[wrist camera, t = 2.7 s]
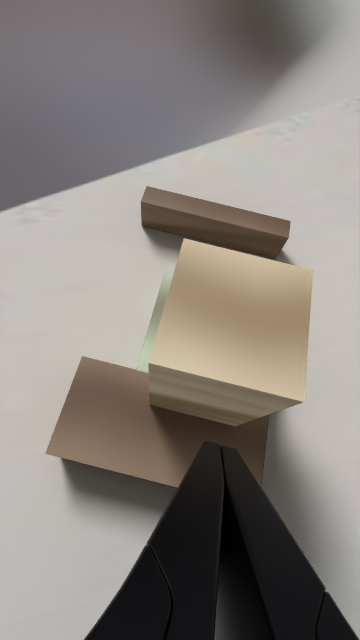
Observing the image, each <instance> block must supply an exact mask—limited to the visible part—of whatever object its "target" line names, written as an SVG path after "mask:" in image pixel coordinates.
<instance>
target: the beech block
mask: <svg viewBox="0 0 360 640" xmlns="http://www.w3.org/2000/svg"><path fill="white" fill-rule="evenodd" d="M312 276H313V270H311V269H307V268H303V267H299V266H295V265H291V264H286V263H282V262H278V261H274V260H270V259H266V258H262V257H258V256H254V255H250V254H246V253H242V252H238V251H234V250H230V249H225V248H221V247H217V246H213V245H209V244H205V243H201V242H197V241H193V240H189V239H185V238H184V239H183V243H182V246H181V250H180V253H179V257H178V260H177V264H176V267H175V271H174V274H173V278H172V281H171V285H170V288H169V292H168V295H167V299H166V302H165V306H164V309H163V313H162V316H161V320H160V324H159V327H158V331H157V334H156V338H155V341H154V345H153V348H152V352H151V355H150V359H149V362H148V370H149V405H153V406H157V407H161V408H165V409H169V410H173V411H177V412H181V413H185V414H189V415H192V416H196V417H200V418H204V419H208V420H212V421H216V422H220V423H224V424H228V425H232V426H237V425H240V424H243V423H246V422H249V421H252V420H254V419H257V418H260V417H263V416H266V415H269V414H271V413H274V412H277V411H280V410H283V409H286V408H288V407H291V406H294V405H297V404H300V403H303V402H304V397H305V382H306V367H307V351H308V336H309V321H310V306H311V291H312Z"/></svg>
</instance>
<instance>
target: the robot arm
mask: <svg viewBox="0 0 360 640" xmlns="http://www.w3.org/2000/svg"><path fill="white" fill-rule="evenodd" d="M325 590H326V589H325V586H324V585H323V583H322V581H321V580H320V578H319V577H318V575H317V574H316V572H315V570H314V569H313V567H312V566H311V564H310V563H309V561H308V559H307V558H306V556H305V555H304V553H303V552H302V550H301V548H300V547H299V545H298V544H297V542H296V541H295V539H294V537H293V536H292V534H291V533H290V531H289V530H288V528H287V526H286V525H285V523H284V522H283V520H282V519H281V517H280V515H279V514H278V512H277V511H276V509H275V508H274V506H273V504H272V503H271V501H270V500H269V498H268V497H267V495H266V493H265V492H264V490H263V489H262V487H261V486H260V484H259V482H258V481H257V479H256V478H255V476H254V475H253V473H252V471H251V470H250V468H249V467H248V465H247V464H246V462H245V460H244V459H243V457H242V456H241V454H240V453H239V451H238V450H237V449H236V448H235V447H231V446H227V445H223V444H222V445H219V444H218V443H216V442H212V441H208V440H205V441H203V443H202V445H201V446H200V448H199V450H198V452H197V454H196V455H195V457H194V459H193V461H192V463H191V464H190V466H189V468H188V470H187V472H186V473H185V475H184V477H183V479H182V481H181V482H180V484H179V486H178V488H177V490H176V491H175V493H174V495H173V497H172V499H171V500H170V502H169V504H168V506H167V508H166V509H165V511H164V513H163V515H162V517H161V518H160V520H159V522H158V524H157V526H156V527H155V529H154V531H153V533H152V535H151V536H150V538H149V540H148V542H147V545H146V546H145V547H144V549H143V550H142V552H141V554H140V556H139V558H138V559H137V561H136V563H135V565H134V566H133V568H132V570H131V571H130V573H129V575H128V576H127V578H126V580H125V581H124V583H123V585H122V586H121V588H120V589H119V591H118V592H117V594H116V595H115V597H114V598H113V600H112V601H111V603H110V604H109V605H108V607H107V608H106V610H105V611H104V613H103V614H102V616H101V617H100V618H99V620H98V621H97V623H96V624H95V625H94V627H93V628H92V629H91V631H90V632H89V633H88V635H87V636H86V638H85V639H84V640H359V638H358V637H357V635H356V634H355V632H354V631H353V629H352V628H351V626H350V625H349V623H348V622H347V620H346V619H345V617H344V616H343V614H342V613H341V611H340V609H339V608H338V606H337V605H336V603H335V602H334V600H333V598H332V597H331V595H330V594H329V593H328V592H325Z"/></svg>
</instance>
